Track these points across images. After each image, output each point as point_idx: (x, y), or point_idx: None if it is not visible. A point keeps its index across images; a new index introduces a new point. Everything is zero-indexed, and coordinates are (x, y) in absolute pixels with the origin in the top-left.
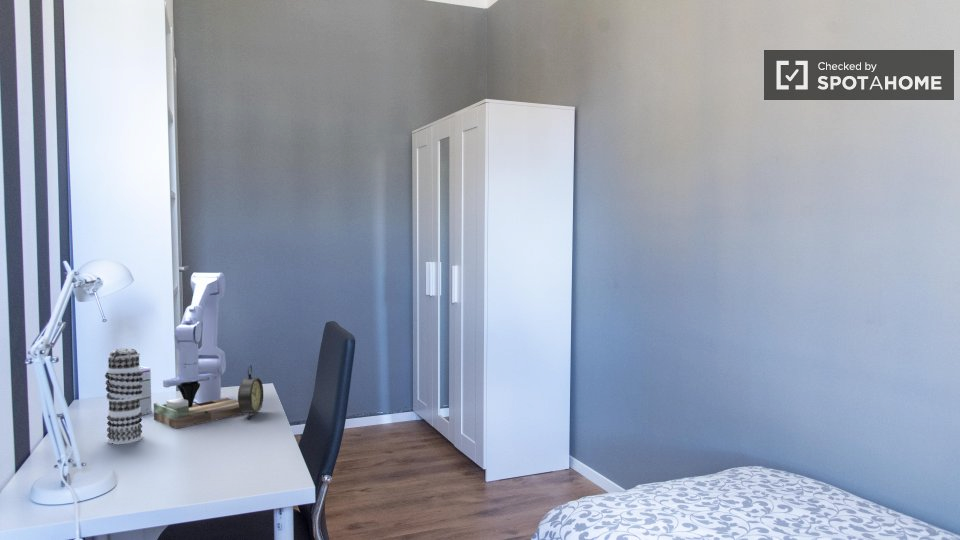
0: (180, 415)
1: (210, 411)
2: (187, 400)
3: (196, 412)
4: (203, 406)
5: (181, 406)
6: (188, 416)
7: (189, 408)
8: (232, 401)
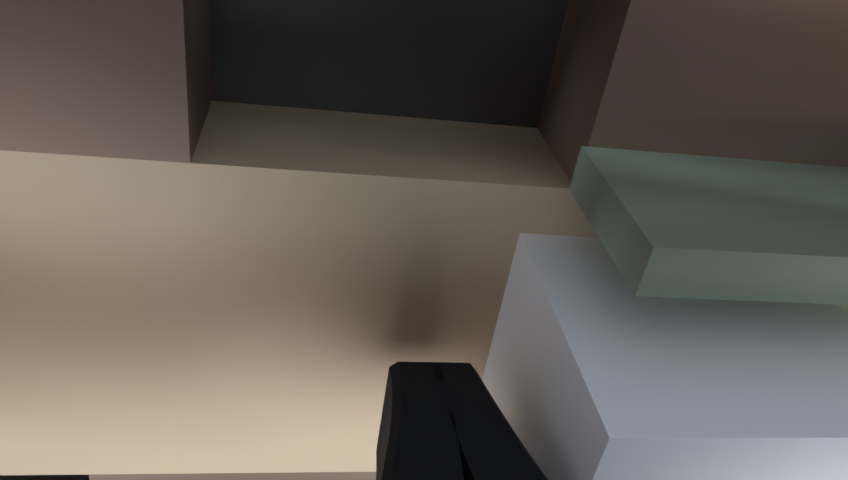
0: (748, 168)
1: (110, 10)
2: (620, 444)
3: (385, 177)
4: (63, 429)
5: (723, 346)
6: (688, 25)
7: (307, 461)
8: None
